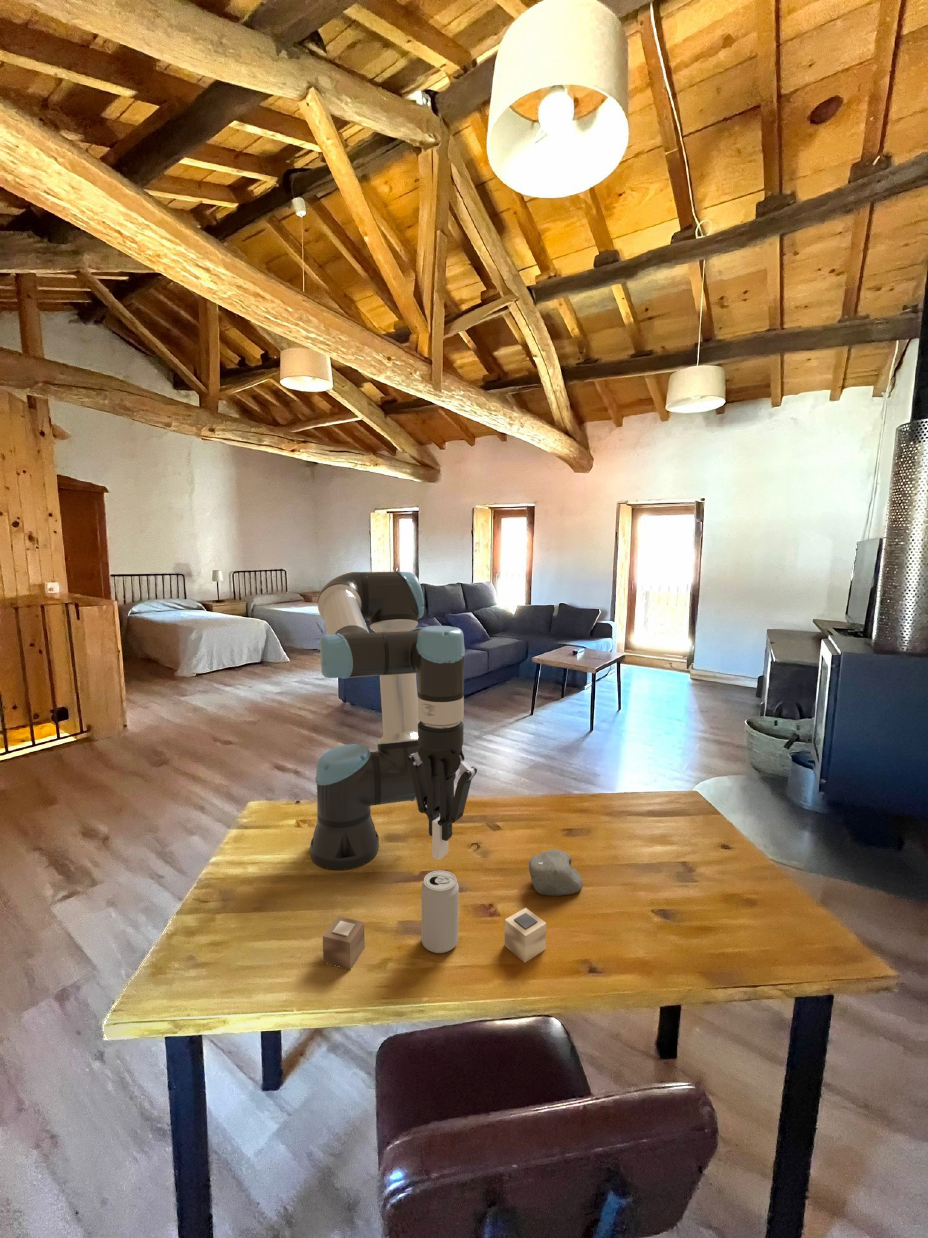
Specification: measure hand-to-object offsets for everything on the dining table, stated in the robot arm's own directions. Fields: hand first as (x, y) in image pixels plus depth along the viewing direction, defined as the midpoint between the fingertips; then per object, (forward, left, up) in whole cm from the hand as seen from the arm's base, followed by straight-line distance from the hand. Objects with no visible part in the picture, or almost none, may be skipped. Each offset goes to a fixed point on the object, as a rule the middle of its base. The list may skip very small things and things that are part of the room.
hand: (440, 854), depth 92 cm
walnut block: (-12, -11, -17) cm, 23 cm away
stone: (+11, +26, -17) cm, 33 cm away
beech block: (+13, +7, -17) cm, 22 cm away
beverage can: (0, 0, -17) cm, 17 cm away
